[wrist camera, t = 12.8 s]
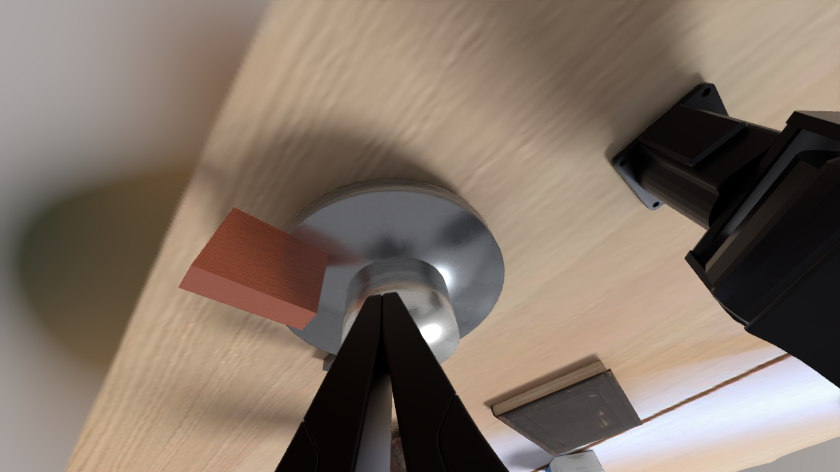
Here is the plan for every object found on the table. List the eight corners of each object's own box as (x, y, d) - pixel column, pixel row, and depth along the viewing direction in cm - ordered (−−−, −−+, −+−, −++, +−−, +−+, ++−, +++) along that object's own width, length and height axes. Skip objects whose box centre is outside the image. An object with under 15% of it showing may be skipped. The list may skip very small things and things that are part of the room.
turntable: (506, 158, 18) (560, 216, 13) (488, 325, 28) (514, 397, 22) (228, 191, 17) (163, 268, 12) (311, 352, 27) (295, 433, 21)
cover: (445, 249, 19) (462, 305, 15) (447, 319, 23) (461, 376, 19) (334, 265, 19) (324, 327, 15) (358, 332, 23) (354, 393, 19)
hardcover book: (599, 353, 37) (611, 371, 35) (633, 409, 50) (643, 424, 48) (488, 401, 41) (494, 419, 40) (545, 441, 54) (551, 456, 52)
